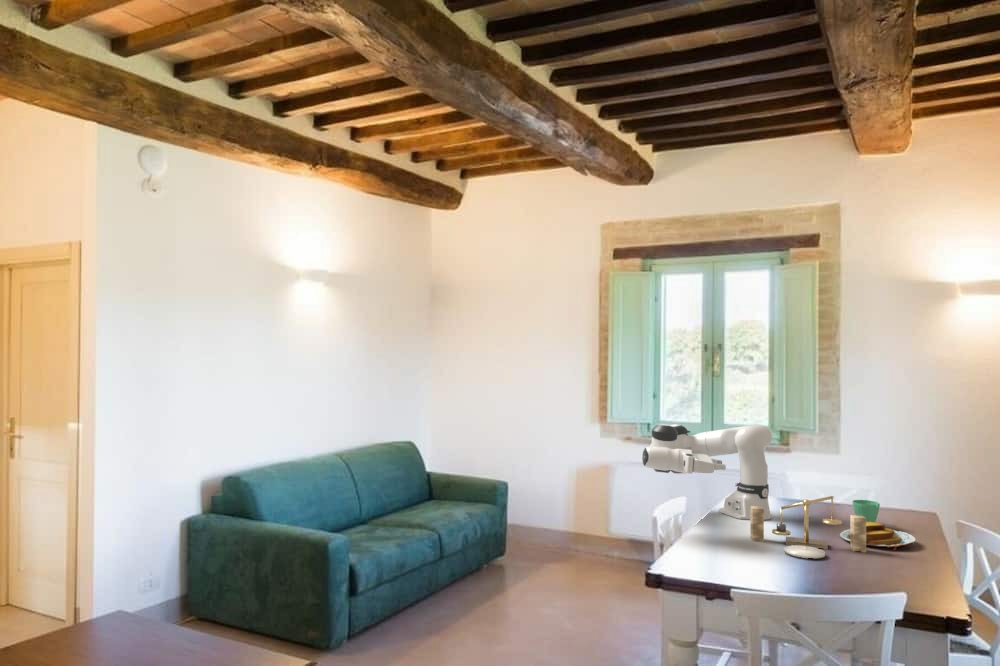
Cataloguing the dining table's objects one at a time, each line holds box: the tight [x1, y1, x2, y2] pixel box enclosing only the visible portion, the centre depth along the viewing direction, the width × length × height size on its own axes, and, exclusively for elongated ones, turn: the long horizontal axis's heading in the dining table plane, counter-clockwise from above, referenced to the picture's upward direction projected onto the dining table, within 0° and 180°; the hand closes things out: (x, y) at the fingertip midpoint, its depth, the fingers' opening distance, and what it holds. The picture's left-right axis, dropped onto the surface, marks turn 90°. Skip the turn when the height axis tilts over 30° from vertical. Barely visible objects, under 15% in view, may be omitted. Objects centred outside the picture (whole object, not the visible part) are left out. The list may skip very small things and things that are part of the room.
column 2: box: [849, 514, 867, 553], centre depth 254 cm, size 4×4×12 cm
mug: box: [852, 499, 881, 522], centre depth 292 cm, size 15×10×10 cm
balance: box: [771, 495, 843, 550], centre depth 261 cm, size 24×7×19 cm, turn 67°
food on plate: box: [839, 521, 917, 551], centre depth 267 cm, size 25×25×7 cm
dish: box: [784, 545, 826, 559], centre depth 248 cm, size 13×13×2 cm
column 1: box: [750, 506, 765, 542], centre depth 268 cm, size 4×4×12 cm
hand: (723, 465), depth 270 cm, fingers open, 8 cm apart
